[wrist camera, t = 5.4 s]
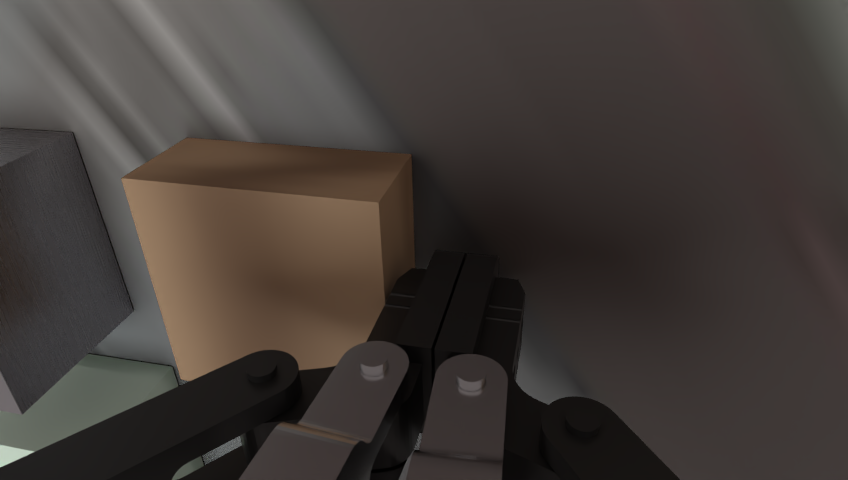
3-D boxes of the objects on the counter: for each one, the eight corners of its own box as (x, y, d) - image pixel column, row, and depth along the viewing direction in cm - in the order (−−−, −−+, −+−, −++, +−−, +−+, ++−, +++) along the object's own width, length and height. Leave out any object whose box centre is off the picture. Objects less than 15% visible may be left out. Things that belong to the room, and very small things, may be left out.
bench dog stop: (72, 132, 16) (-85, 207, 13) (133, 311, 19) (22, 414, 16) (-18, 127, 17) (-193, 196, 13) (54, 300, 20) (-71, 397, 16)
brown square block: (415, 148, 15) (378, 202, 12) (421, 340, 18) (392, 416, 15) (195, 131, 16) (121, 177, 13) (235, 314, 19) (180, 379, 16)
